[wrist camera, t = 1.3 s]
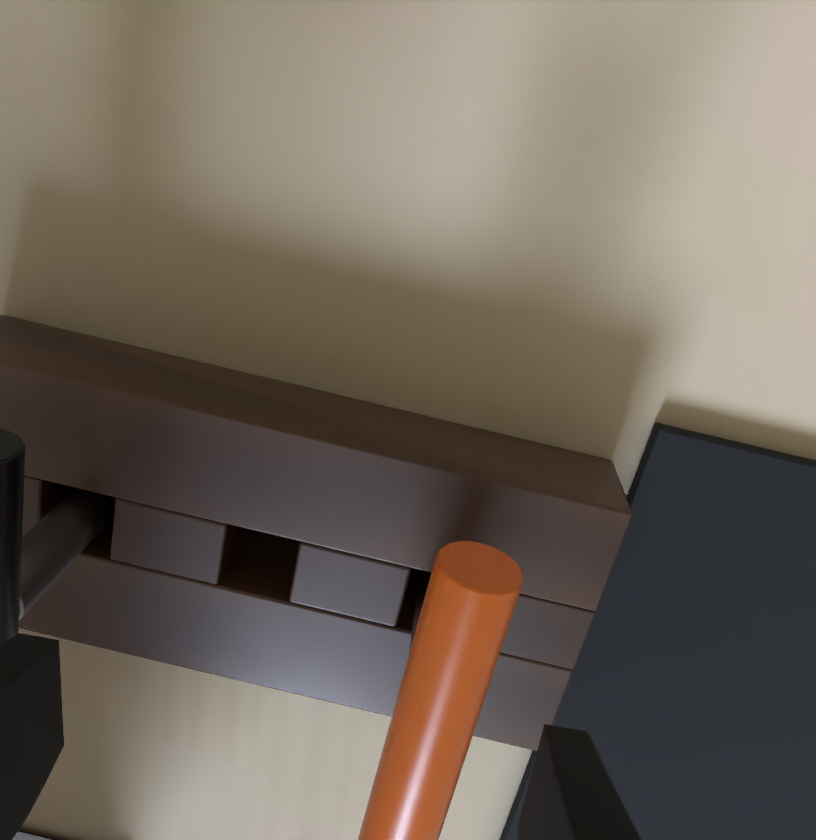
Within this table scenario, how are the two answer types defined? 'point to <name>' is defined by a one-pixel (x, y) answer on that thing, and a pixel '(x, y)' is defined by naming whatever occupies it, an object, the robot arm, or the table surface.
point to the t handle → (441, 688)
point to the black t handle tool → (38, 536)
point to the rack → (296, 525)
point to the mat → (706, 647)
